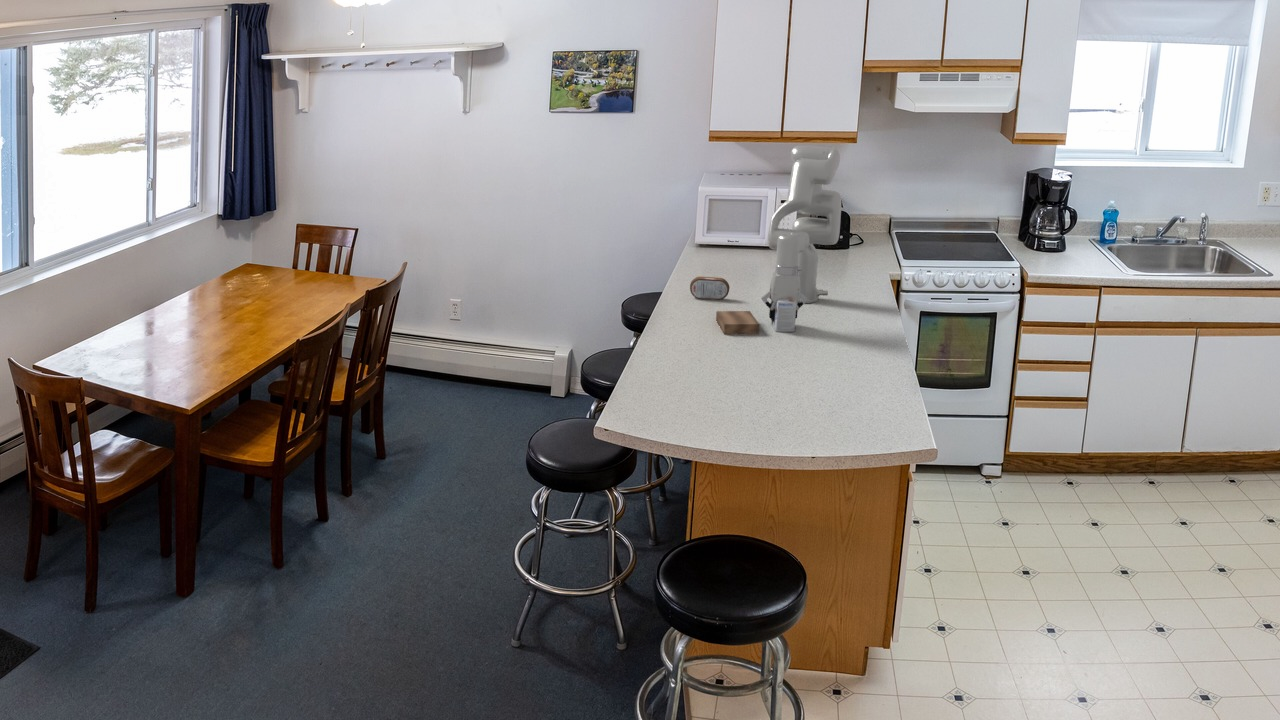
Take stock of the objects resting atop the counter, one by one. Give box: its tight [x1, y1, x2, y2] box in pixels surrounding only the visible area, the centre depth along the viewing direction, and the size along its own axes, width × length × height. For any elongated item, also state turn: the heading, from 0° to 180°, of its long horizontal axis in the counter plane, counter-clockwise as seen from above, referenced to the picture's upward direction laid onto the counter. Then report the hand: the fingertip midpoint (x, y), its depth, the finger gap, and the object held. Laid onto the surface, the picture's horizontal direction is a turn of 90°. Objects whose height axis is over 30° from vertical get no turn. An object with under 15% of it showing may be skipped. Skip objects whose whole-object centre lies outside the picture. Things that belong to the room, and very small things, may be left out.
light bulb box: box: [770, 299, 797, 333], centre depth 359 cm, size 11×7×11 cm, turn 5°
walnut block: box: [715, 310, 760, 335], centre depth 359 cm, size 12×16×4 cm
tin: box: [689, 276, 730, 301], centre depth 393 cm, size 15×3×8 cm, turn 84°
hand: (782, 319), depth 360 cm, fingers closed on light bulb box, 6 cm apart
